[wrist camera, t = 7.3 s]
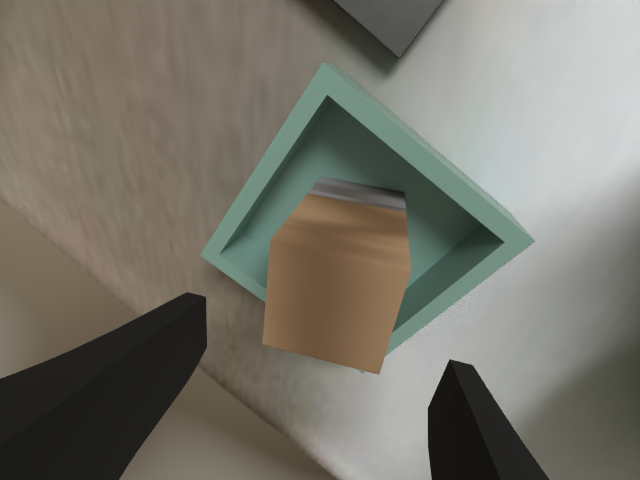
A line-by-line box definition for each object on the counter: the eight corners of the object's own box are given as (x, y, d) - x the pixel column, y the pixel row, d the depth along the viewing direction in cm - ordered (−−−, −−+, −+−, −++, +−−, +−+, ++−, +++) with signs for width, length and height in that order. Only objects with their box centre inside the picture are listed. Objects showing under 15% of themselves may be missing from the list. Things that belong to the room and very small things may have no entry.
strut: (404, 192, 17) (411, 271, 10) (385, 265, 19) (379, 374, 12) (320, 176, 17) (270, 240, 10) (310, 248, 19) (262, 344, 12)
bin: (509, 211, 17) (535, 241, 14) (367, 332, 22) (362, 373, 19) (337, 66, 16) (322, 62, 13) (229, 229, 21) (199, 255, 18)
